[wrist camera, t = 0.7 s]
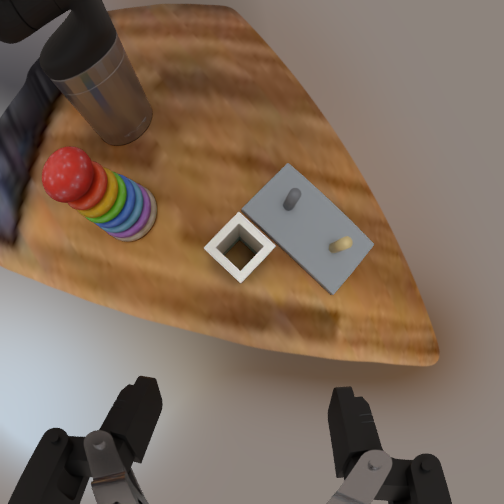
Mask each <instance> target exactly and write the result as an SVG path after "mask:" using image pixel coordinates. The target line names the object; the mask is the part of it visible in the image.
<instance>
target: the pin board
mask: <svg viewBox="0 0 504 504" xmlns="http://www.w3.org/2000/svg"><path fill="white" fill-rule="evenodd" d="M242 212H243V213H244V214H245V215H246V216H247V217H248V218H250V219H251V220H252V221H253V222H254V223H255V224H256V225H257V226H258V227H259V228H260V229H262V230H263V231H264V232H265V233H266V234H267V235H268V236H269V237H270V238H271V239H272V240H273V241H274V242H276V243H277V244H278V245H279V246H280V247H281V248H282V249H283V250H284V251H285V252H286V253H287V254H288V255H289V256H290V257H292V258H293V259H294V260H295V261H296V262H297V263H298V264H299V265H300V266H301V267H302V268H303V269H304V270H305V271H306V272H307V273H308V274H310V275H311V276H312V277H313V278H314V279H315V280H316V281H317V282H318V283H319V284H320V285H321V286H322V287H323V288H324V289H325V290H326V291H327V292H328V293H329V294H330V295H334V293H335V292H336V291H337V290H338V289H339V288H340V286H341V285H342V284H343V283H344V282H345V280H346V279H347V278H348V277H349V275H350V274H351V273H352V272H353V271H354V269H355V268H356V267H357V266H358V264H359V263H360V262H361V261H362V259H363V258H364V257H365V256H366V254H367V253H368V252H369V250H370V249H371V248H372V247H373V245H374V243H373V242H372V241H371V240H370V239H369V238H368V237H367V236H366V235H365V234H364V233H363V232H362V231H361V230H360V229H359V228H358V227H357V226H356V225H355V224H354V223H353V222H352V221H351V220H350V219H349V218H348V217H347V216H346V215H345V214H344V213H343V212H341V211H340V210H339V209H338V208H337V207H336V206H335V205H334V204H333V203H332V202H331V201H330V200H329V199H328V198H327V197H326V196H325V195H323V194H322V193H321V192H320V191H319V190H318V189H317V188H316V187H315V186H314V185H313V184H311V183H310V182H309V181H308V180H307V179H306V178H305V177H304V176H302V175H301V174H300V173H299V172H298V171H297V170H296V169H295V168H293V167H292V166H291V165H290V164H289V163H287V164H286V165H285V166H284V167H283V168H282V169H281V170H280V171H279V172H278V173H277V174H276V175H275V176H274V177H273V178H272V179H271V180H270V181H269V182H268V183H267V184H266V185H265V186H264V187H263V188H262V189H261V190H260V191H259V192H258V193H257V194H256V195H255V196H254V197H253V198H252V199H251V200H250V201H249V202H248V203H247V204H246V205H245V206H244V207H243V208H242Z"/></svg>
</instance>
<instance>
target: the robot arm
mask: <svg viewBox="0 0 504 504" xmlns="http://www.w3.org/2000/svg"><path fill="white" fill-rule="evenodd" d="M68 10H71V12H70V14H69V15H68V17H67V18H66V19H65V21H64V22H63V23H62V24H61V25H60V26H59V28H58V29H57V30H56V31H55V32H54V33H53V34H52V36H51V37H50V38H49V39H48V41H47V42H46V44H45V45H44V47H43V49H42V51H41V54H40V65H41V68H42V69H43V71H44V72H45V73H46V74H47V75H48V77H49V78H50V79H51V80H52V81H53V83H54V84H55V85H56V86H57V87H58V89H59V90H60V91H61V92H62V93H63V94H64V95H65V97H66V98H67V99H68V100H69V101H70V102H71V104H72V105H73V106H74V107H75V108H76V109H77V110H78V112H79V113H80V114H81V115H82V116H83V117H84V119H85V120H86V121H87V122H88V123H89V124H90V125H91V126H92V128H93V129H94V130H95V131H96V132H97V133H98V134H99V136H100V137H101V138H102V139H103V140H104V141H105V142H107V143H108V144H111V145H123V144H127V143H129V142H132V141H133V140H135V139H137V138H138V137H139V136H140V135H142V133H143V132H144V131H145V130H146V129H147V127H148V126H149V124H150V121H151V118H152V109H151V106H150V104H149V101H148V99H147V97H146V95H145V93H144V91H143V88H142V86H141V84H140V82H139V80H138V78H137V76H136V74H135V71H134V69H133V67H132V65H131V63H130V61H129V58H128V56H127V54H126V52H125V50H124V48H123V46H122V43H121V41H120V39H119V37H118V34H117V32H116V30H115V28H114V25H113V23H112V21H111V19H110V17H109V15H108V13H107V11H106V9H105V7H104V4H103V2H102V0H0V41H2V42H4V43H9V44H11V43H12V44H13V43H17V42H20V41H22V40H23V39H25V38H26V37H28V36H30V35H31V34H33V33H34V32H35V31H37V30H38V29H40V28H41V27H43V26H44V25H46V24H47V23H49V22H50V21H52V20H53V19H55V18H56V17H58V16H60V15H61V14H63V13H65V12H66V11H68ZM161 410H162V398H161V395H160V391H159V387H158V384H157V381H156V379H155V378H151V377H145V376H139V377H138V378H137V380H136V382H135V384H134V385H130V384H129V385H127V386H126V387H125V388H124V389H123V390H121V392H120V394H119V395H118V397H117V400H116V401H115V402H114V404H113V407H112V408H111V410H110V411H109V413H108V415H107V417H106V419H105V420H104V422H103V424H102V426H101V428H100V429H99V430H97V431H93V432H91V433H89V434H88V435H87V436H86V437H74V436H68V435H67V433H66V432H65V431H64V430H62V429H60V428H52V429H49V430H47V431H46V432H45V433H44V435H43V437H42V439H41V440H40V442H39V444H38V445H37V447H36V449H35V451H34V453H33V455H32V456H31V458H30V460H29V462H28V464H27V466H26V468H25V470H24V472H23V474H22V475H21V477H20V479H19V482H18V483H17V486H16V488H15V490H14V492H13V494H12V496H11V498H10V500H9V502H8V504H80V501H81V499H82V496H83V493H84V491H85V488H86V485H87V483H88V480H89V478H90V477H93V482H91V486H92V490H93V493H94V496H95V499H96V502H97V504H149V503H148V502H147V500H146V499H145V497H144V495H143V492H142V490H141V488H140V486H139V484H138V482H137V480H136V477H135V475H134V473H133V470H132V468H131V466H132V463H133V461H134V462H138V463H142V460H143V457H144V455H145V452H146V450H147V447H148V444H149V442H150V439H151V437H152V434H153V431H154V429H155V426H156V424H157V421H158V419H159V416H160V413H161ZM328 423H329V429H330V436H331V442H332V448H333V456H334V463H335V470H336V477H337V478H341V477H344V482H343V484H342V485H341V486H340V488H339V489H338V490H337V492H336V493H335V494H334V495H333V496H332V497H331V499H330V500H329V501H328V502H327V504H371V502H372V501H373V500H386V501H388V504H452V502H451V498H450V495H449V491H448V487H447V483H446V480H445V477H444V473H443V470H442V467H441V463H440V461H439V460H438V458H437V457H435V456H434V455H432V454H421V455H419V456H417V457H416V458H415V459H414V460H401V459H394V458H392V457H390V456H389V455H388V454H387V453H386V452H384V451H383V449H382V447H381V443H380V439H379V436H378V433H377V429H376V426H375V423H374V419H373V416H372V413H371V410H370V407H369V404H368V403H367V402H366V401H365V400H364V398H363V397H354V393H353V390H352V387H336V388H334V390H333V393H332V397H331V401H330V405H329V409H328Z"/></svg>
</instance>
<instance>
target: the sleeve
mask: <svg viewBox="0 0 504 504" xmlns="http://www.w3.org/2000/svg"><path fill="white" fill-rule="evenodd" d="M239 240H241V241H242V242H243V243H244V244H245V245H246V246H247V247H248V248H249V249H250V250H251V251H252V252H253V253H255V254H256V255H255V256H254V257H253V258H252V259H251V260H250V262H249V263H248V264H247V265H246V266H245V267H244V268H243V269H242V270H241V271H240V270H239V269H238V268H237V267H235V266H234V265H233V264H232V263H231V262H230V261H229V260H228V259H227V258H226V257H225V256H224V255H225V254H226V253H227V252H228V251H229V250H230V249H231V248H232V247H233V246H234V245H235V244H236V243H237V242H238V241H239ZM274 248H275V245H274V244H273V243H272V242H271V241H270V240H269V239H268V238H267V237H266V236H265V235H264V234H262V233H261V232H260V231H259V230H258V229H257V228H256V227H255V226H254V225H253V224H252V223H251V222H250V221H248V220H247V219H246V218H245V217H244V216H243V215H242V214H241V213H240V212H238V213H237V214H236V215H235V216H234V217H233V218H232V219H231V220H230V221H229V222H228V223H227V224H226V225H225V226H224V227H223V228H222V229H221V230H220V231H219V232H218V234H217V235H216V236H215V237H214V238H213V239H212V240H211V241H210V242H209V243H208V244H207V245H206V246H205V247H204V249H205V250H206V251H207V252H208V253H209V254H210V255H211V256H212V257H213V258H214V259H215V260H216V261H217V262H218V263H219V264H220V265H222V266H223V267H224V268H225V269H226V270H227V271H228V272H229V273H230V274H231V275H232V276H233V277H234V278H235V279H236V280H237V281H238V282H240V283H242V282H243V281H244V280H245V279H246V278H247V277H248V276H249V275H250V274H251V273H252V272H253V270H254V269H255V268H256V267H257V266H258V265H259V264H260V263H261V262H262V261H263V260H264V259H265V258H266V257H267V255H268V254H269V253H270V252H271V251H272V250H273V249H274Z"/></svg>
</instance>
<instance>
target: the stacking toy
mask: <svg viewBox="0 0 504 504" xmlns="http://www.w3.org/2000/svg"><path fill="white" fill-rule="evenodd" d="M42 182H43V186H44V189H45V191H46V193H47V194H48V195H49V196H50V197H51V198H52V199H54V200H56V201H58V202H63V203H68V204H69V205H70V206H71V207H72V208H74V209H76V210H77V211H78V212H79V213H80V214H81V215H83V216H85V217H86V218H87V219H88V220H90V221H91V222H94V223H95V224H96V225H98V226H99V227H100V228H102V229H103V230H105V231H106V232H107V233H108V234H110V235H111V236H113V237H114V238H116V239H118V240H121V241H134V240H137V239H139V238H141V237H143V236H144V235H145V234H146V233H147V232H148V231H149V230H150V229H151V227H152V226H153V224H154V222H155V219H156V214H157V206H156V201H155V199H154V197H153V195H152V193H151V192H150V191H149V190H148V189H147V188H145V187H143V186H141V185H140V184H138V183H135V182H134V181H132V180H130V179H128V178H127V177H125V176H123V175H120V174H117V173H115V172H112V171H110V170H109V169H107V168H105V167H102V166H101V165H100V164H99V163H97V162H94V161H91V159H90V158H89V156H88V155H87V154H86V153H85V152H84V151H83V150H81V149H79V148H76V147H64V148H61V149H59V150H57V151H55V152H54V153H53V154H52V155H51V156H50V157H49V158H48V160H47V161H46V163H45V165H44V168H43V172H42Z"/></svg>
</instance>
